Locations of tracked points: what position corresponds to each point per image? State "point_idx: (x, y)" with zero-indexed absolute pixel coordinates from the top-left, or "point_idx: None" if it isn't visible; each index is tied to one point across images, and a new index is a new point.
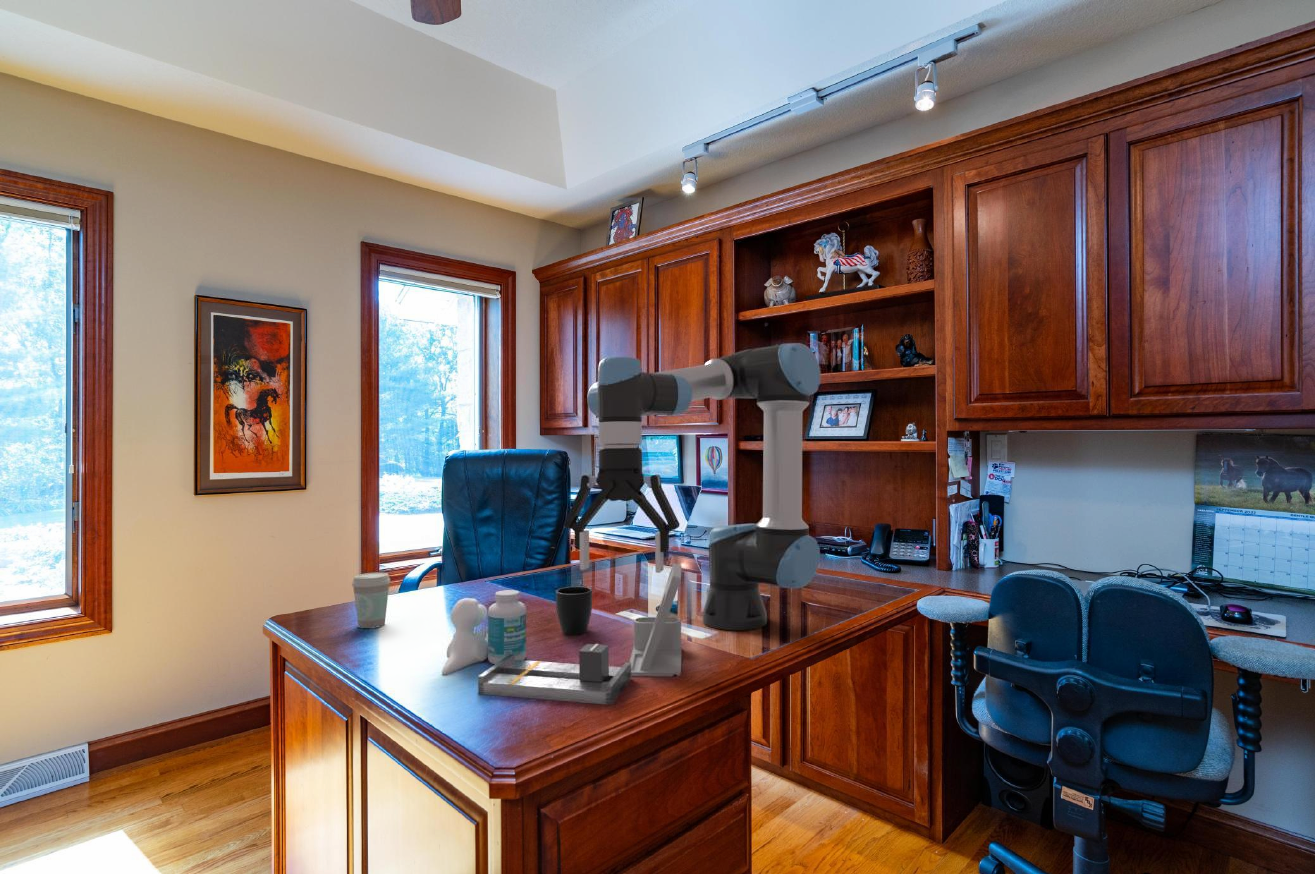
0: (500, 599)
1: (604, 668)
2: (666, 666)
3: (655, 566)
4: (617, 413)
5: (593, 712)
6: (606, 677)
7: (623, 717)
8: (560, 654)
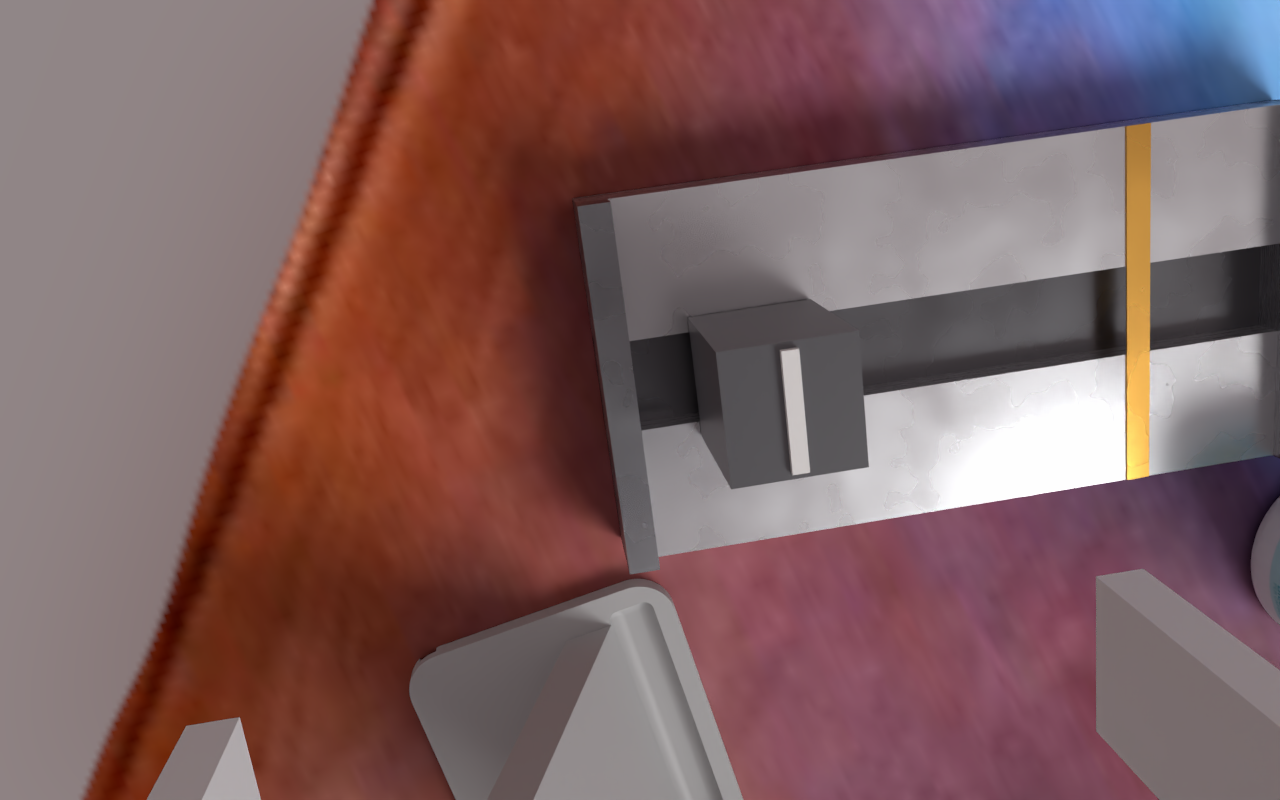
0: None
1: (701, 378)
2: (502, 719)
3: (222, 761)
4: None
5: (617, 82)
6: None
7: (448, 76)
8: None
